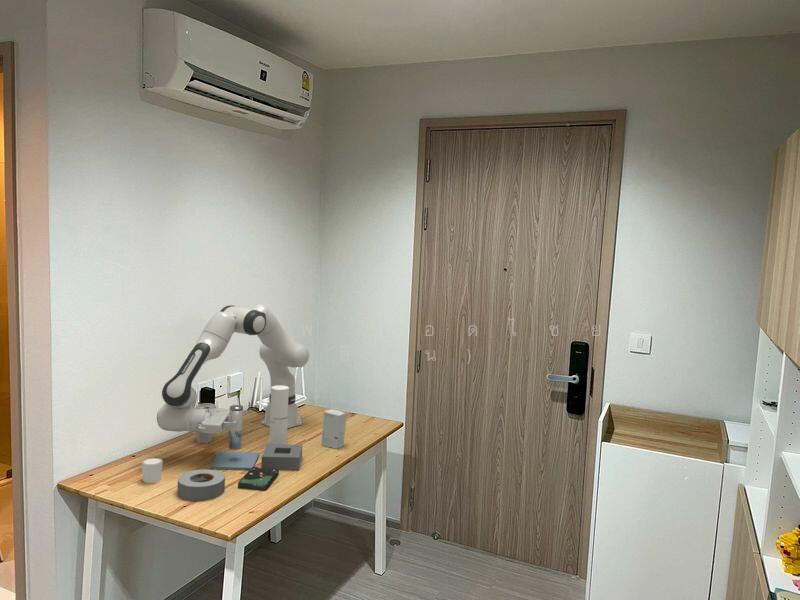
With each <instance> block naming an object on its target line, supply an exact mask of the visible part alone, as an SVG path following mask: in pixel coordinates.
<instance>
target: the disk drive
mask: <svg viewBox="0 0 800 600" xmlns="http://www.w3.org/2000/svg"><path fill="white" fill-rule="evenodd" d="M279 475H280V470H279V469H270V468H263V469H261V467H260V468H259V466H258V467H257V466H254V467H252V468H251V469H250V470H247V472H246V473H245V474H244V475H243V476H242V478H241V479H240V480H239V481H238V482H237V488H238V489H243V490H253V491H254V490H255V491H262V492H266V491H267V490H268V489H269V488H270V486H271V485H272V484H273V483H274V482H275V480H276V479H277V478H278V477H279ZM273 481H274V482H273Z"/></svg>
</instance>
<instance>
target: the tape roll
mask: <svg viewBox="0 0 800 600" xmlns="http://www.w3.org/2000/svg"><path fill="white" fill-rule="evenodd" d="M225 488H226V476H225V474H224V473H223V472H222V471H221V470H214V469H209V468H208V469H206V468H205V469H197V470H196V469H195V470H191V471H187V472H184V473H182V474H180V475H179V477H178V478H177V492H176V493H177V494H176V495H177V496H178V497H179V498H180V499H182V500H185V501H191V502H192V501H193V502H203V501H209V500H213V499H216V498H218V497H220V496H222V495H223V494H224V493H225V490H226V489H225Z"/></svg>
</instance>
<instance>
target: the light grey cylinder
mask: <svg viewBox="0 0 800 600" xmlns="http://www.w3.org/2000/svg"><path fill="white" fill-rule="evenodd" d="M163 463H164V461H163V459H161V458H158V457H151V458H146V459H144V460H142V462H141V469H142V470H141V471H142V480H143V481H144V482H145V483H144V482H143V481H142V482H143V483H144V484H147V483H153V484H156V483H155V482H157V483H159V482H161V480H162V471H163ZM158 481H159V482H158Z"/></svg>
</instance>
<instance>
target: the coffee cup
mask: <svg viewBox="0 0 800 600" xmlns="http://www.w3.org/2000/svg"><path fill="white" fill-rule="evenodd" d="M205 407H211V409H212V408H217V407H216V404H215V403H209V402H208V403H207V402H205V403H204V402H203V403H198V404H197V405H196V404H195V407H194V409H200V408H205ZM195 434H196V442H197V443H199V442H201V443H200V444H208V443H207V442H209V443H211V441H212V442H213V441H214V436H215V434H210V433H203V432H195Z"/></svg>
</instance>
